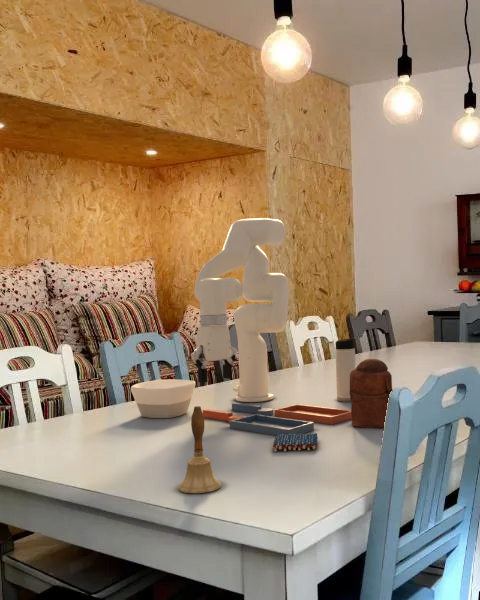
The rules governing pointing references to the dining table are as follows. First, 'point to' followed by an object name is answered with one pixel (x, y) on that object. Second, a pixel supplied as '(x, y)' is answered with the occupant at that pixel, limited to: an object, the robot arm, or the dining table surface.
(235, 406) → the slate spoon
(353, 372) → the wooden figurine
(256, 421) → the slate tray
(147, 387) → the bowl
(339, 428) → the dining table surface
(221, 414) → the terracotta spoon
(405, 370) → the dining table surface
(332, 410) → the terracotta tray
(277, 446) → the woven mat
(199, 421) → the hand bell
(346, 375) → the travel mug
